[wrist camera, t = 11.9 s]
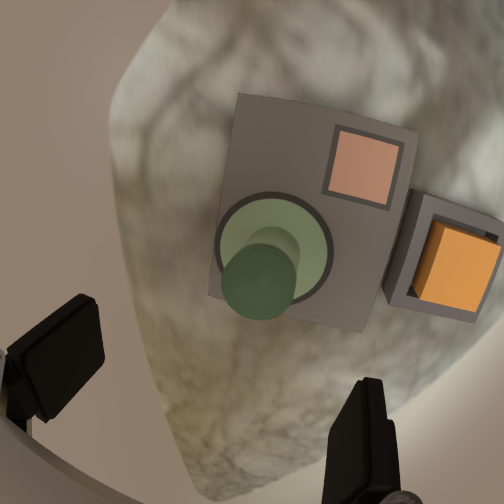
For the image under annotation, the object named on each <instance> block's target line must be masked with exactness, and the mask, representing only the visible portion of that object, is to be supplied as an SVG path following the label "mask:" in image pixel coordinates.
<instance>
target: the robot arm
mask: <svg viewBox="0 0 504 504" xmlns="http://www.w3.org/2000/svg"><path fill="white" fill-rule="evenodd" d="M7 352H8V354H7V355H6V356H5V354H4V352H3V351H2V350H1V349H0V504H143V503H141V502H139V501H137V500H134V499H132V498H130V497H128V496H126V495H124V494H122V493H120V492H118V491H116V490H114V489H112V488H110V487H108V486H107V485H104V484H103V483H101V482H99V481H97V480H96V479H94V478H92V477H90V476H89V475H87V474H85V473H84V472H82V471H80V470H79V469H76V468H75V467H74V466H72V465H70V464H69V463H67V462H66V461H64V460H63V459H61V458H60V457H58V456H57V455H55V454H54V453H52V452H51V451H50V450H48V449H47V448H45V447H44V446H43V445H41V444H39V443H38V442H37V441H36V440H34V439H33V438H32V417H33V416H34V415H36V417H37V418H39V419H40V420H42V421H43V422H44V423H47V422H48V421H49V420H50V419H53V418H55V417H56V416H57V415H58V414H59V412H60V411H61V410H62V409H63V408H64V407H65V406H66V405H67V403H68V402H69V401H70V400H71V399H72V398H73V397H74V396H75V395H76V394H77V392H78V391H79V390H80V389H81V388H82V387H83V386H84V385H85V384H86V382H87V381H88V380H89V379H90V378H91V377H92V376H93V375H94V374H95V373H96V371H98V369H99V368H100V367H101V366H102V365H103V363H104V360H105V354H104V348H103V341H102V334H101V327H100V319H99V310H98V305H97V304H96V302H95V299H94V298H92V297H89V296H87V295H85V294H78V295H77V296H75V297H74V298H73V299H71V300H70V301H68V302H67V303H66V304H64V305H63V306H61V307H60V308H59V309H57V310H56V311H55V312H53V313H52V314H51V315H49V316H48V317H47V318H45V319H44V320H43V321H41V322H40V323H39V324H37V325H36V326H35V327H34V328H32V329H31V330H30V331H29V332H27V333H26V334H24V335H23V336H22V337H21V338H19V339H18V340H17V341H15V342H14V343H13V344H12V345H11V346H9V347H8V348H7ZM321 504H423V503H422V501H421V499H420V498H419V497H418V496H417V495H415V494H413V493H412V492H409V491H401V487H400V472H399V460H398V449H397V441H396V432H395V425H394V422H393V421H392V420H389V419H387V412H386V404H385V396H384V389H383V383H382V380H381V379H375V378H369V377H364V378H363V380H362V381H361V380H358V381H357V382H356V384H355V386H354V388H353V390H352V391H351V393H350V395H349V397H348V399H347V401H346V402H345V404H344V406H343V408H342V410H341V411H340V413H339V415H338V417H337V418H336V420H335V422H334V423H333V425H332V427H331V429H330V432H329V436H328V447H327V458H326V470H325V478H324V487H323V495H322V503H321Z"/></svg>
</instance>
